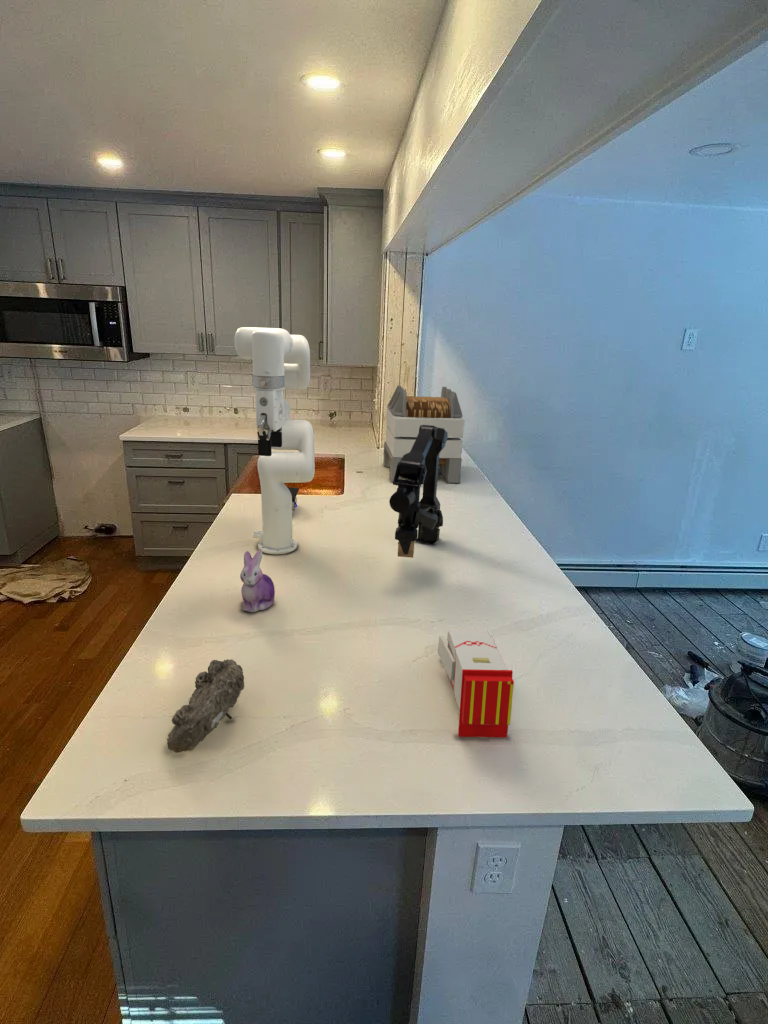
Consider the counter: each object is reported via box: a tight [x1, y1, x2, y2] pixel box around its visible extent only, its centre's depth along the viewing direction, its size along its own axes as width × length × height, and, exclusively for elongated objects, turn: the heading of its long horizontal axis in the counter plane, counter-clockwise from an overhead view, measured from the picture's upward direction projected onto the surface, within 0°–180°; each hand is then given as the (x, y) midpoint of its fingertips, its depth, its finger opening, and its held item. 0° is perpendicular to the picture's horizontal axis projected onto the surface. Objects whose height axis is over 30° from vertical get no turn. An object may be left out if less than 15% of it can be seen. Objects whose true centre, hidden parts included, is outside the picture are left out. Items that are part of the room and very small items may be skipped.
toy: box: [437, 628, 515, 738], centre depth 117 cm, size 12×13×30 cm
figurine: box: [239, 549, 276, 613], centre depth 146 cm, size 9×10×15 cm
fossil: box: [166, 658, 245, 754], centre depth 106 cm, size 22×10×15 cm
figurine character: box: [286, 486, 300, 512], centre depth 216 cm, size 7×8×15 cm
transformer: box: [383, 384, 465, 484], centre depth 268 cm, size 34×33×41 cm
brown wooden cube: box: [397, 541, 416, 559], centre depth 168 cm, size 4×5×5 cm
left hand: (270, 451), depth 145 cm, fingers open, 9 cm apart
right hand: (406, 551), depth 169 cm, fingers closed on brown wooden cube, 4 cm apart
